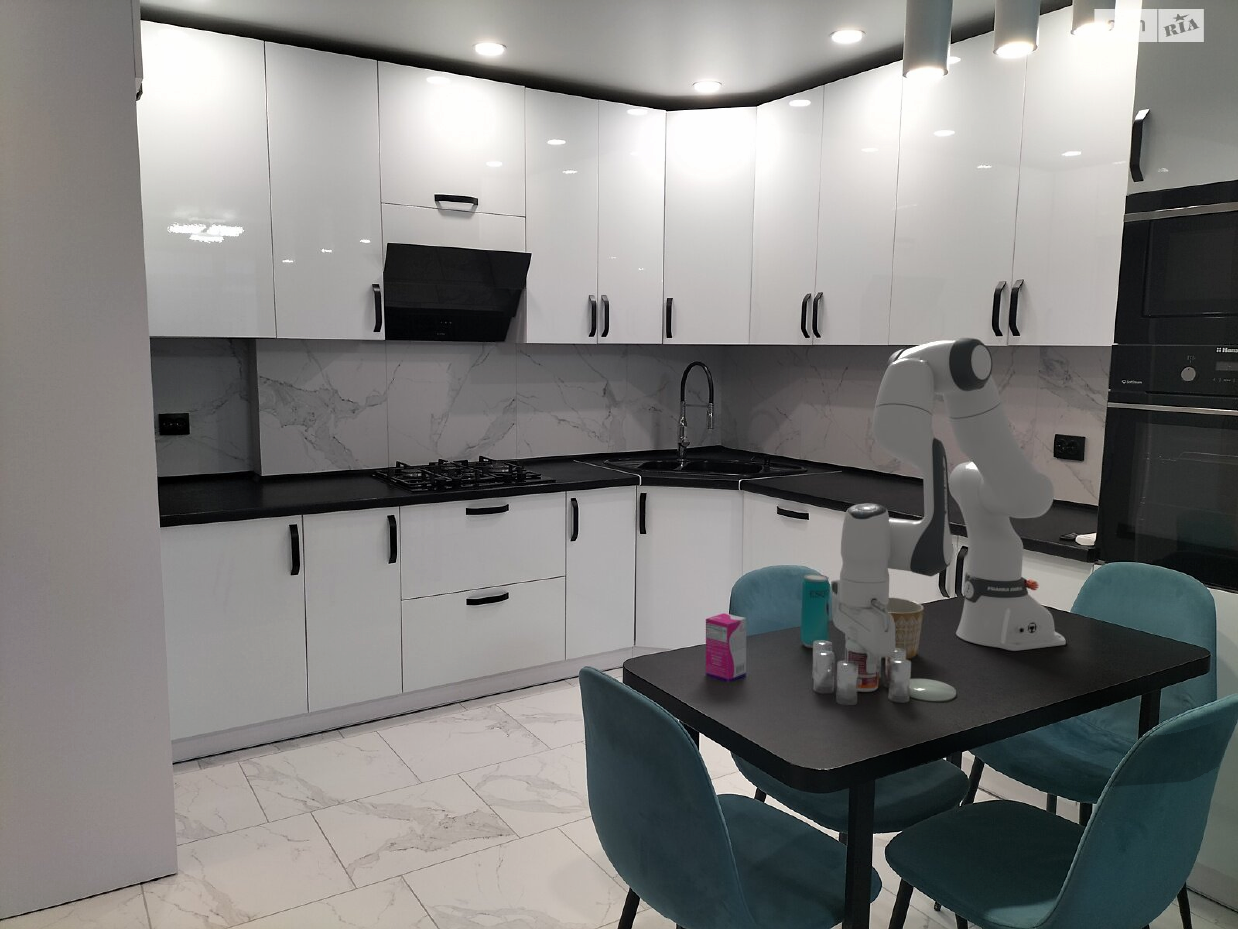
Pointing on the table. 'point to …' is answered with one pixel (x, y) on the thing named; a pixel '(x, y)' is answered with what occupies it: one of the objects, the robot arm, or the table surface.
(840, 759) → the table surface
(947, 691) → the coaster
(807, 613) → the beverage can
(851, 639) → the pill bottle
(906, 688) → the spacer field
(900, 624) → the planter
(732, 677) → the supplement box
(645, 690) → the table surface
